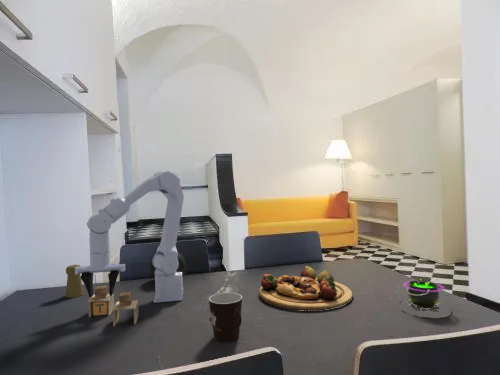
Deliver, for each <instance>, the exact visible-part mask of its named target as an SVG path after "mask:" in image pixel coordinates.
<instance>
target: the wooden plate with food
mask: <svg viewBox="0 0 500 375" xmlns="http://www.w3.org/2000/svg"><path fill="white" fill-rule="evenodd" d="M260 280H261V281H260V287H259V289H258V294H259V295H258V296H259V297H260V300H261V299H262V301H263V302H265V303H266V304H268V305H270V306H272V305H273V306H272V307H275V308H278V307H279V309H281V308H283V309H282V310H286V309H290V310H289V311H292V310H304V311H305V310H306V311H308V310H310V311H311V310H312V311H313V310H314V311H315V310H325V309H331V308H335V307H339V306H341V305H344V304H346V303H348V302H349V301H351V299H352V298H354V294H353V292H352V290H351V289H350V288H349V287H347V286H346V285H344V284H343V283H339V282H337V281H335V280H334V277H333V275H332V273H330V272H329V271H327V270H323V271H322V272H321V271H320V273H319V274H318V275H317V273H316V272H315V270H314V269H313V268H311V266H309V265H307V266H304V267H303V268H302V269H301V272H300V276H298V275H294V276H293V275H292V276H290V275H284V274H283V275H281V276H280V277H278V278H277V277H275V276H274V275H273V274H270V273H265V274H263V275H262V278H261V279H260ZM352 300H353V299H352ZM351 302H352V301H351Z"/></svg>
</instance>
